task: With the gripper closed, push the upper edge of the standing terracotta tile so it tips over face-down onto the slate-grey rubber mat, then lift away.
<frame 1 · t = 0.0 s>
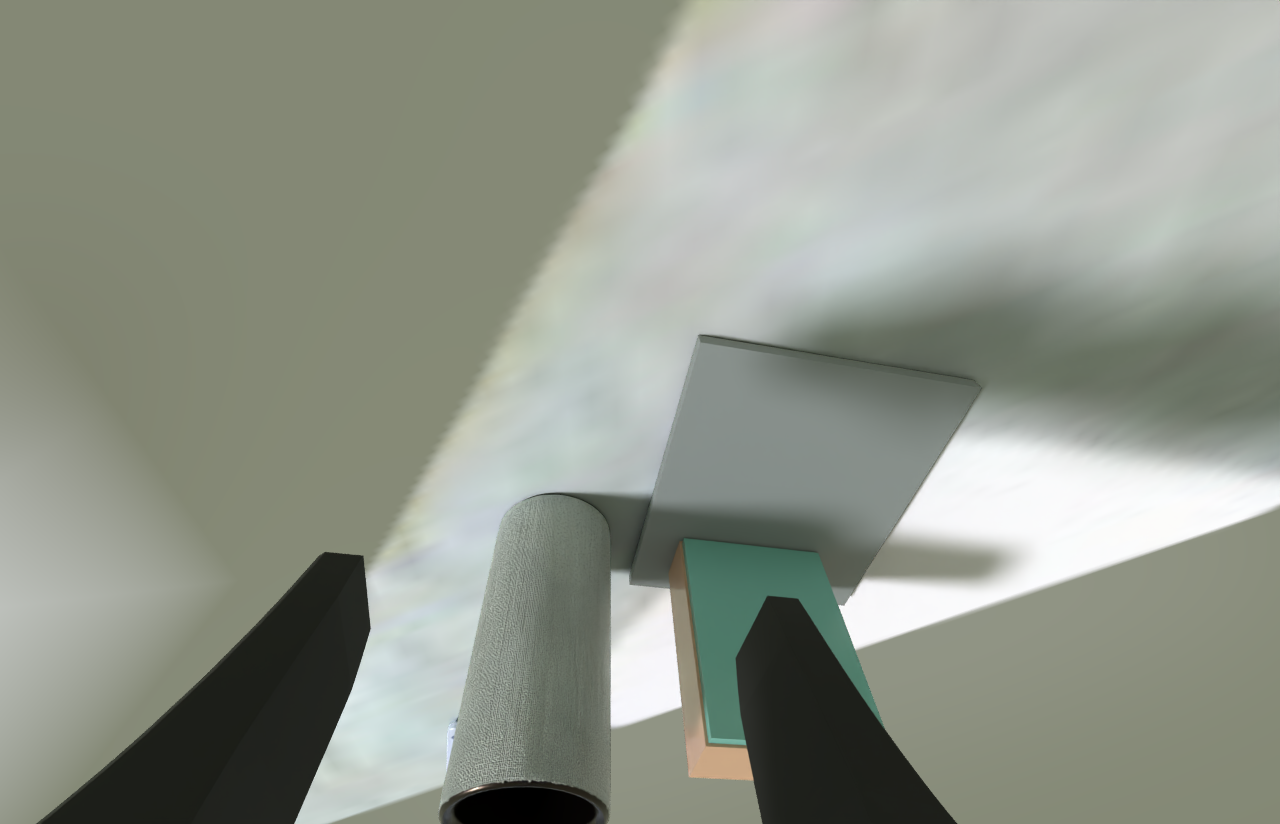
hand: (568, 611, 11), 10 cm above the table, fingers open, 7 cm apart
mat: (782, 488, 23), on the table
tile: (742, 564, 25), resting on mat
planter: (555, 529, 24), on the table
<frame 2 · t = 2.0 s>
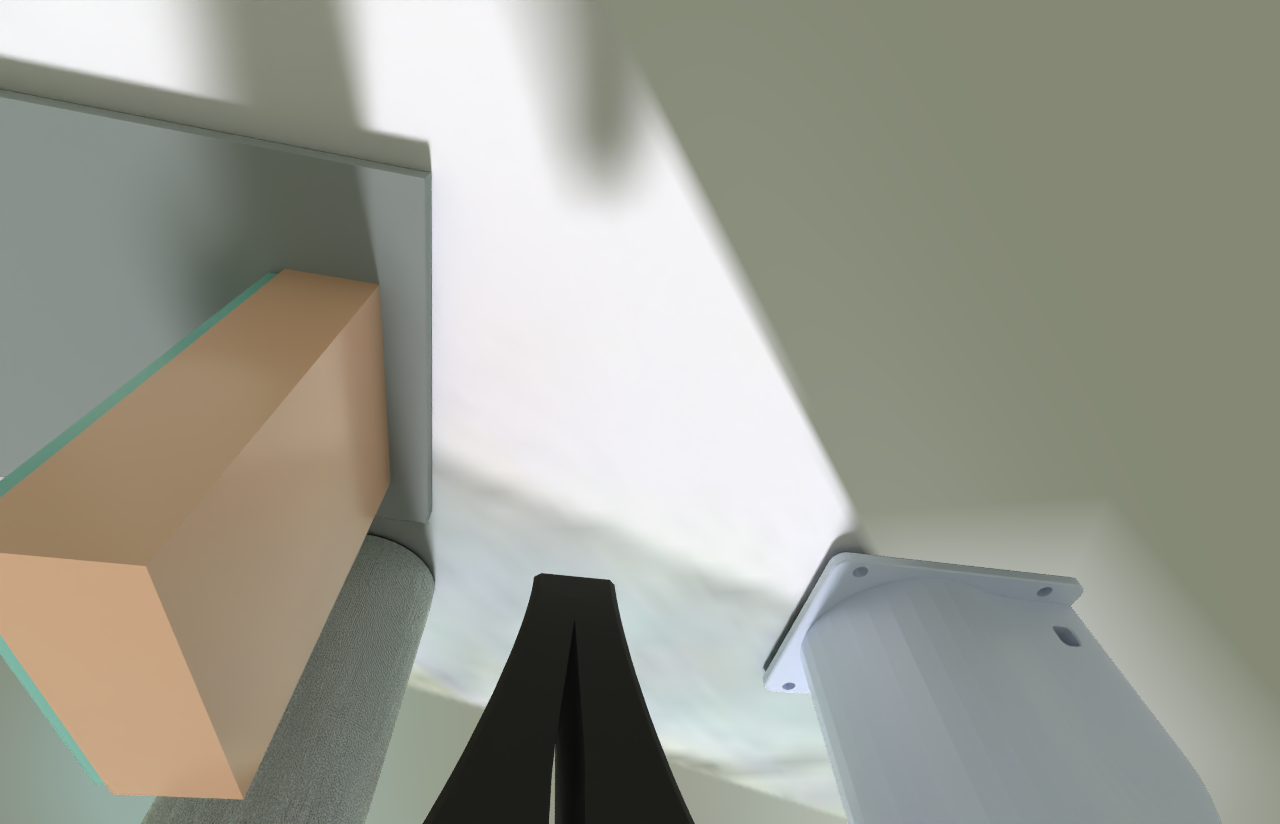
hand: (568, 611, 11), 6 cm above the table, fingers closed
mat: (176, 336, 14), on the table
tile: (344, 388, 15), resting on mat
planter: (368, 572, 20), on the table
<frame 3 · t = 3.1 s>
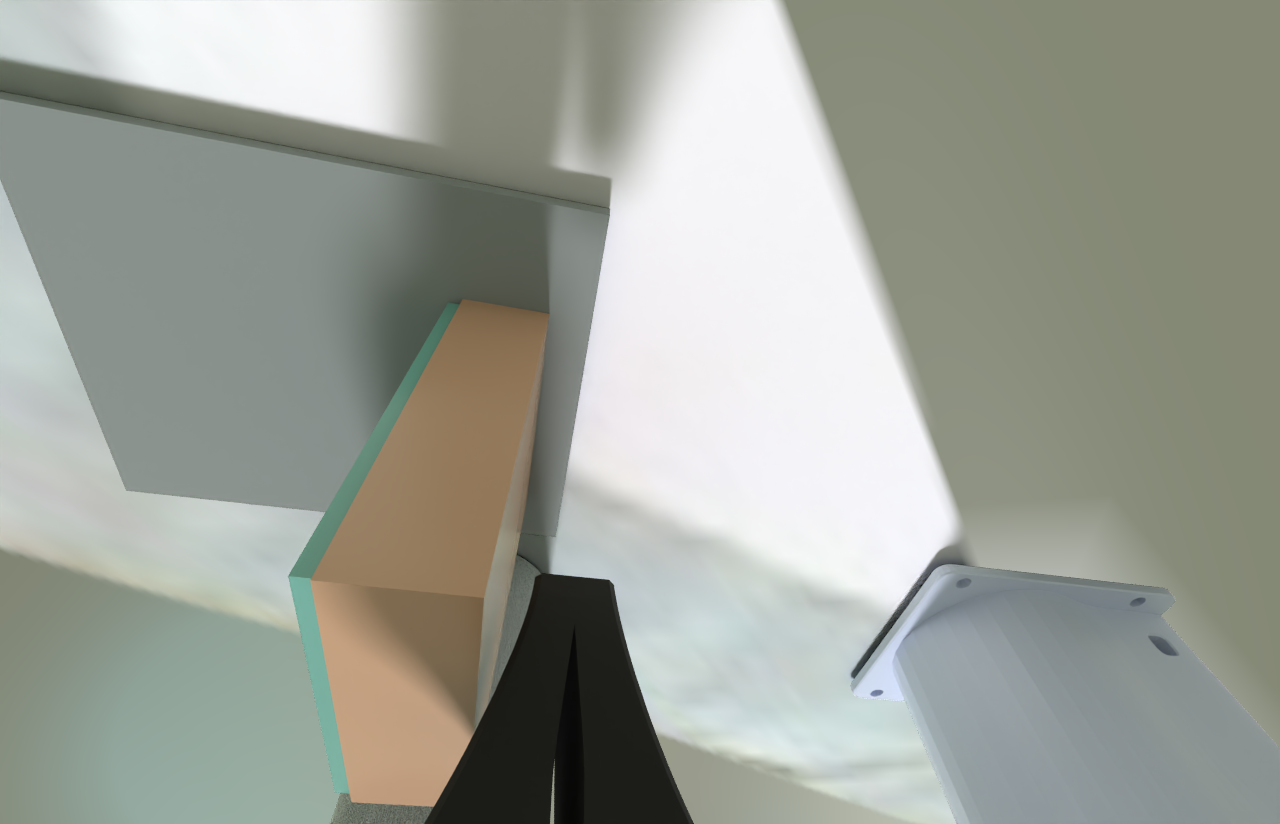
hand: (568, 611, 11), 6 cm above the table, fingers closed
mat: (343, 361, 15), on the table
tile: (498, 410, 15), point 1 cm above the table, touching mat
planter: (484, 583, 20), on the table
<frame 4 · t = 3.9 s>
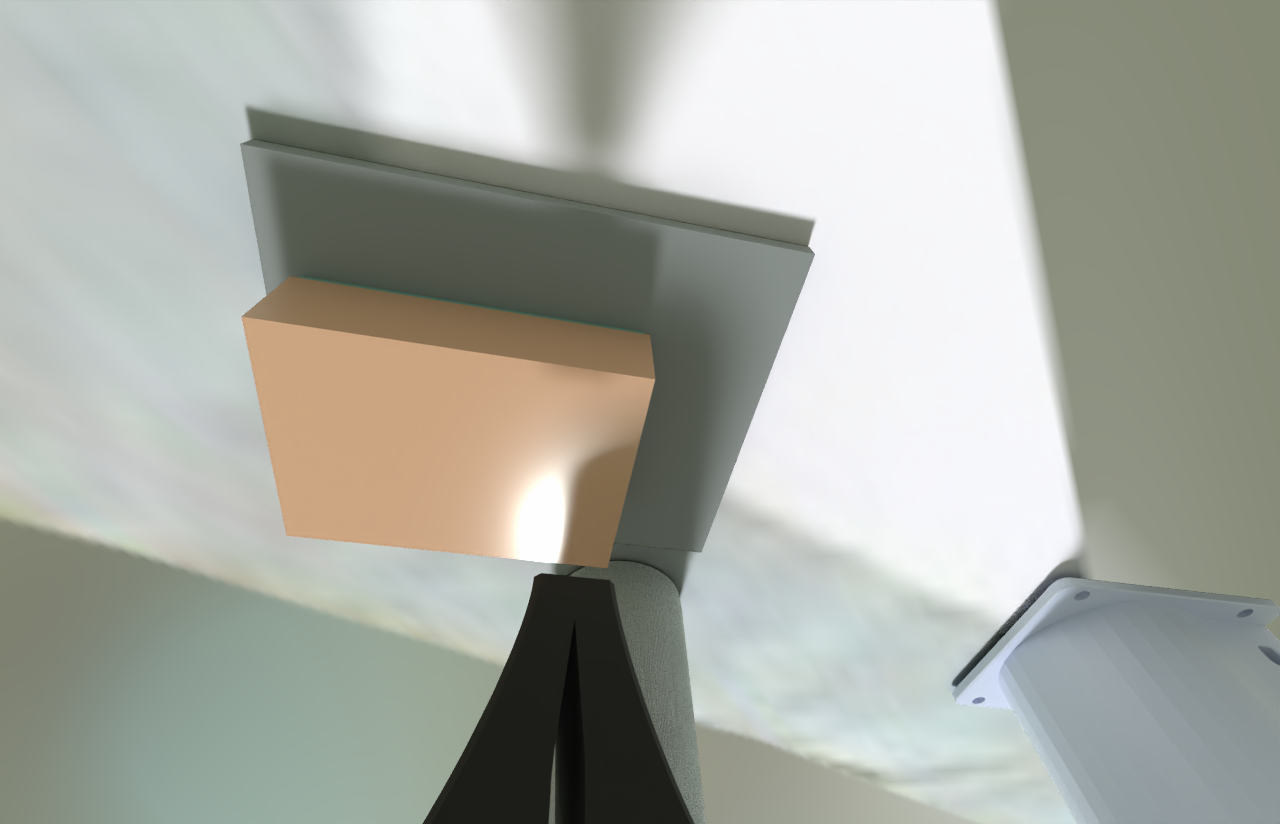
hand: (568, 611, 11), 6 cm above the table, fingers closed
mat: (529, 387, 15), on the table
tile: (627, 458, 15), point 2 cm above the table, tilted 90°, touching mat
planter: (616, 596, 21), on the table
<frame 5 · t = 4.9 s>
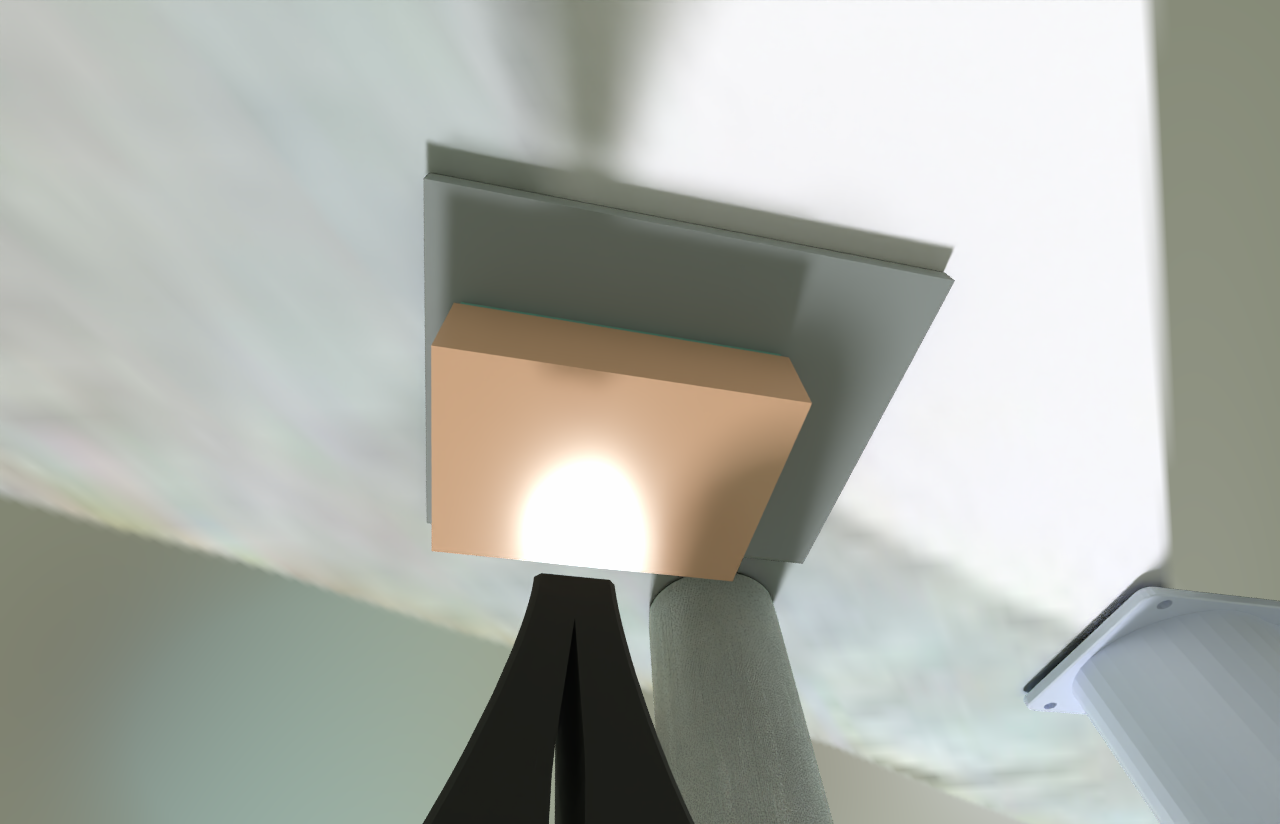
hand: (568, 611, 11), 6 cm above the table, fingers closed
mat: (656, 406, 16), on the table
tile: (759, 475, 15), point 2 cm above the table, tilted 90°, touching mat
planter: (709, 605, 21), on the table
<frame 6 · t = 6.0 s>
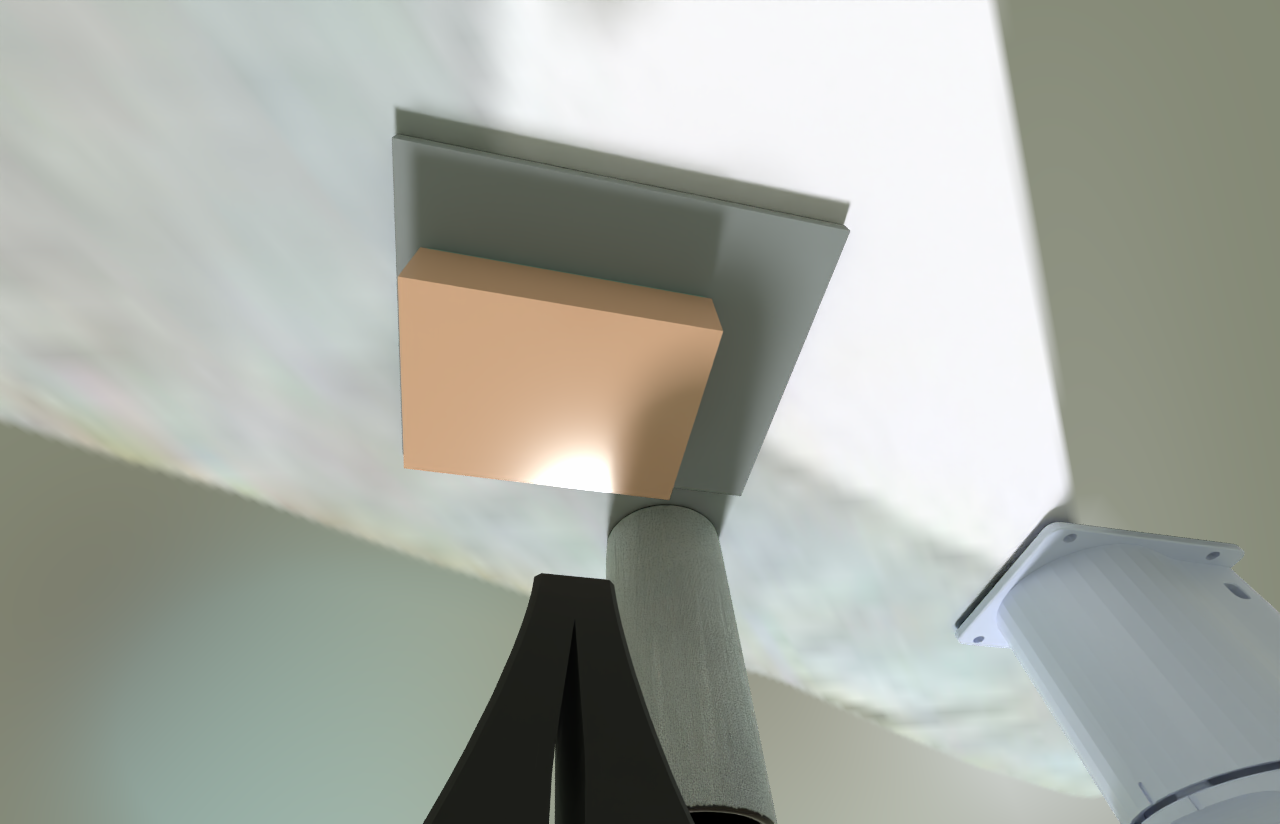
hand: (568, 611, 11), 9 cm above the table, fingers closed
mat: (603, 346, 18), on the table
tile: (689, 404, 17), point 2 cm above the table, tilted 90°, touching mat
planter: (662, 539, 24), on the table
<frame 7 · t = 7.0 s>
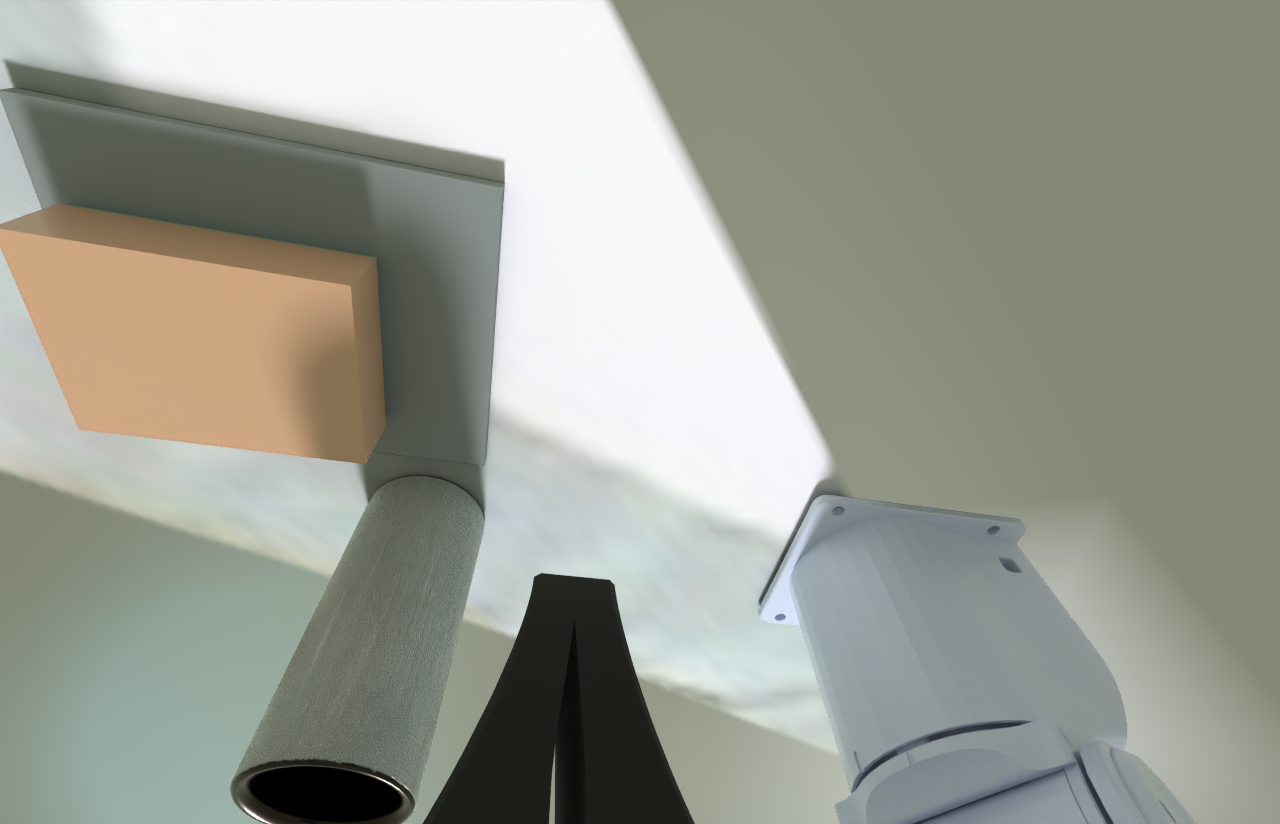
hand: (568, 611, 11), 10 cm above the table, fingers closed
mat: (298, 309, 18), on the table
tile: (370, 366, 17), point 2 cm above the table, tilted 90°, touching mat
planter: (429, 512, 24), on the table
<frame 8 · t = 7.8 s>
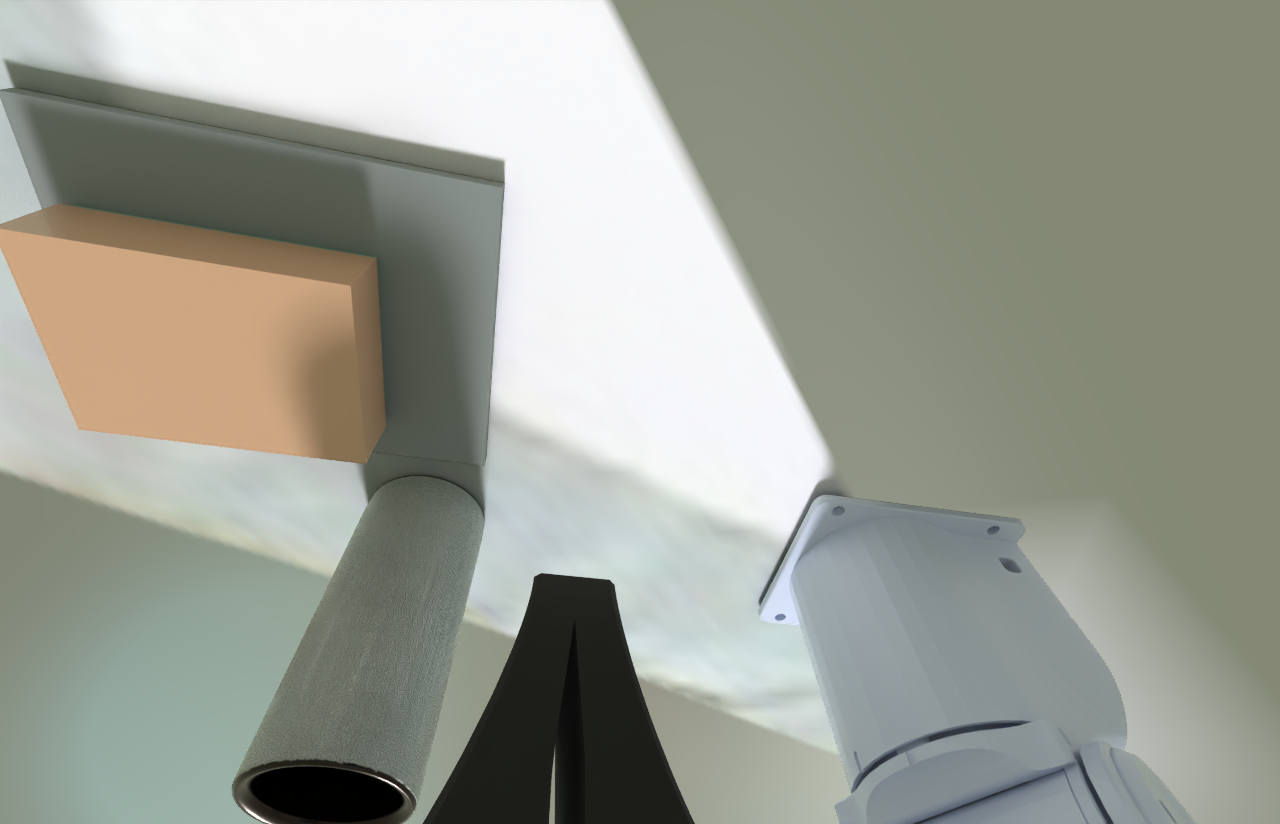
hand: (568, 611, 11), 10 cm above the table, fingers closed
mat: (298, 309, 18), on the table
tile: (370, 366, 17), point 2 cm above the table, tilted 90°, touching mat
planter: (429, 512, 24), on the table
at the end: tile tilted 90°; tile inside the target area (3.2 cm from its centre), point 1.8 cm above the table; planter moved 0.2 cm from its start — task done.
